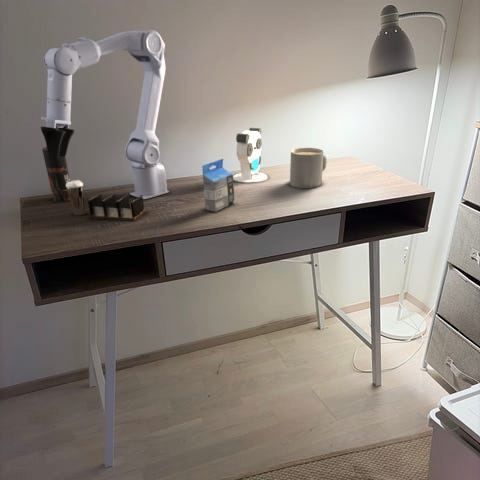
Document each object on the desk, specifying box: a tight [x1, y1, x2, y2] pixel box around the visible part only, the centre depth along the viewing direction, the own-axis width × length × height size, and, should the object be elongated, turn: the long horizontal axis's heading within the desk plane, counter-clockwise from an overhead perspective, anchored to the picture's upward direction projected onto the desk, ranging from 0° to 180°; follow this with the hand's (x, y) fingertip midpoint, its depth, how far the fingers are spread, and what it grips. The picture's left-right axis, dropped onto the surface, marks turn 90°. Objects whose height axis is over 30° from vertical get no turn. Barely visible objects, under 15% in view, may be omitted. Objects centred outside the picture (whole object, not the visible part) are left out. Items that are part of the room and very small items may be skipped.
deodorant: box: [41, 146, 71, 203], centre depth 152 cm, size 6×6×15 cm
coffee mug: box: [289, 147, 328, 189], centre depth 160 cm, size 13×10×10 cm
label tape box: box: [201, 158, 235, 213], centre depth 141 cm, size 9×4×12 cm, turn 143°
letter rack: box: [87, 192, 146, 222], centre depth 139 cm, size 13×7×5 cm, turn 76°
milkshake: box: [66, 176, 87, 216], centre depth 141 cm, size 4×5×10 cm
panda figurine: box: [233, 127, 268, 184], centre depth 165 cm, size 12×11×15 cm
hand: (57, 157), depth 133 cm, fingers open, 7 cm apart
